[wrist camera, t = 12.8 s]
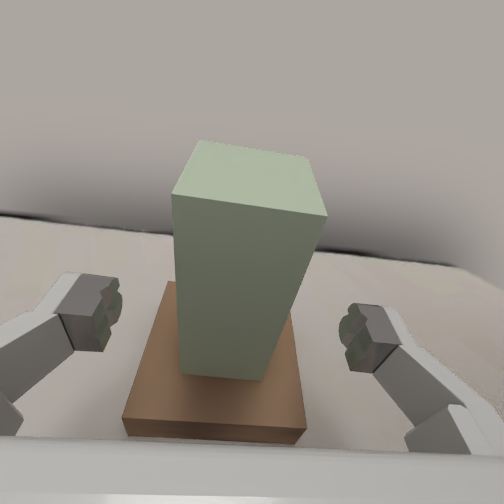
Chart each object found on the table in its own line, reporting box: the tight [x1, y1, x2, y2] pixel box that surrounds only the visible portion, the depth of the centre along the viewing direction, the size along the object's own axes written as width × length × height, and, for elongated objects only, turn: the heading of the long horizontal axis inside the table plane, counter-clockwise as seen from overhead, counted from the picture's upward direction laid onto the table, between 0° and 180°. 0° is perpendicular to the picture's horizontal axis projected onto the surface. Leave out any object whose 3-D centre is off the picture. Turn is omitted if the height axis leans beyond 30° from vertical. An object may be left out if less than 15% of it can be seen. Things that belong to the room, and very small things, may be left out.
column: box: [171, 140, 328, 381], centre depth 13 cm, size 4×4×11 cm
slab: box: [122, 281, 307, 444], centre depth 17 cm, size 9×9×3 cm
